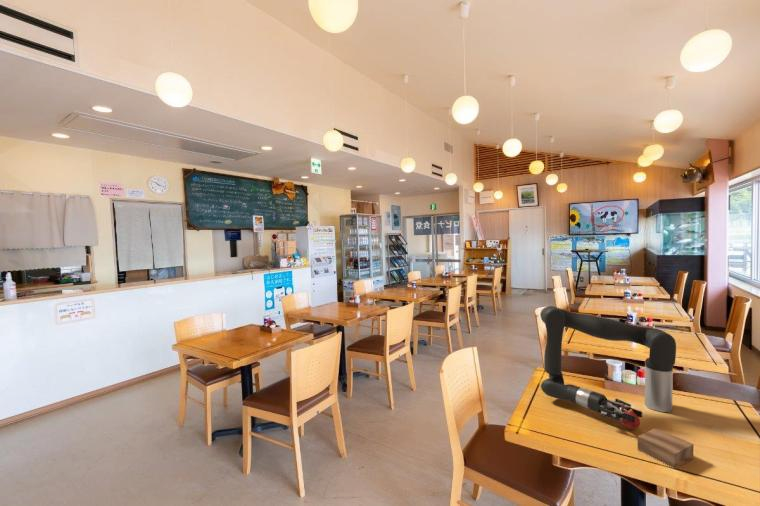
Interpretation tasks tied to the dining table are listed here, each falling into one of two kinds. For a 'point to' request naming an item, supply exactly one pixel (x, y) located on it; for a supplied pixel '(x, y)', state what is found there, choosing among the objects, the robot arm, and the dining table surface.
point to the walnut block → (665, 447)
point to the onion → (630, 424)
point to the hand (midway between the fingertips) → (638, 417)
